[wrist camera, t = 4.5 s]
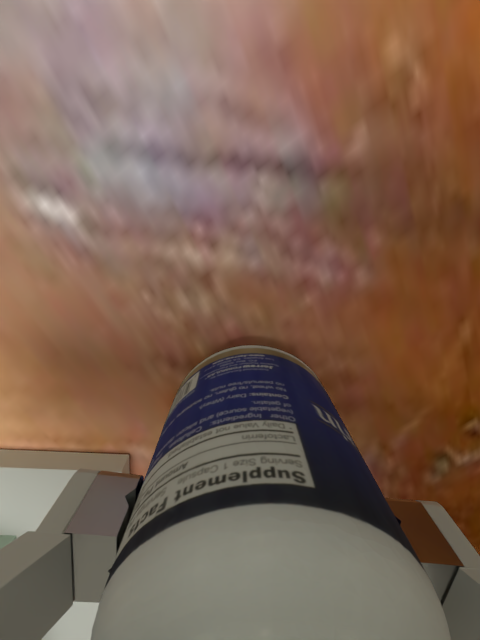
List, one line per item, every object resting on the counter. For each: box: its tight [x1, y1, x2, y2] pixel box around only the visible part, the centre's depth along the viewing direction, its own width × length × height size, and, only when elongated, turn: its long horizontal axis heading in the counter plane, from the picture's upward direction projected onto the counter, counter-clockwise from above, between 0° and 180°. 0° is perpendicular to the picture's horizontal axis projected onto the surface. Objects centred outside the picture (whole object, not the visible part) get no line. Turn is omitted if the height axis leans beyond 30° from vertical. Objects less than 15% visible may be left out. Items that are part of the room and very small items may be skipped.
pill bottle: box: [91, 345, 451, 640], centre depth 7 cm, size 6×6×10 cm
